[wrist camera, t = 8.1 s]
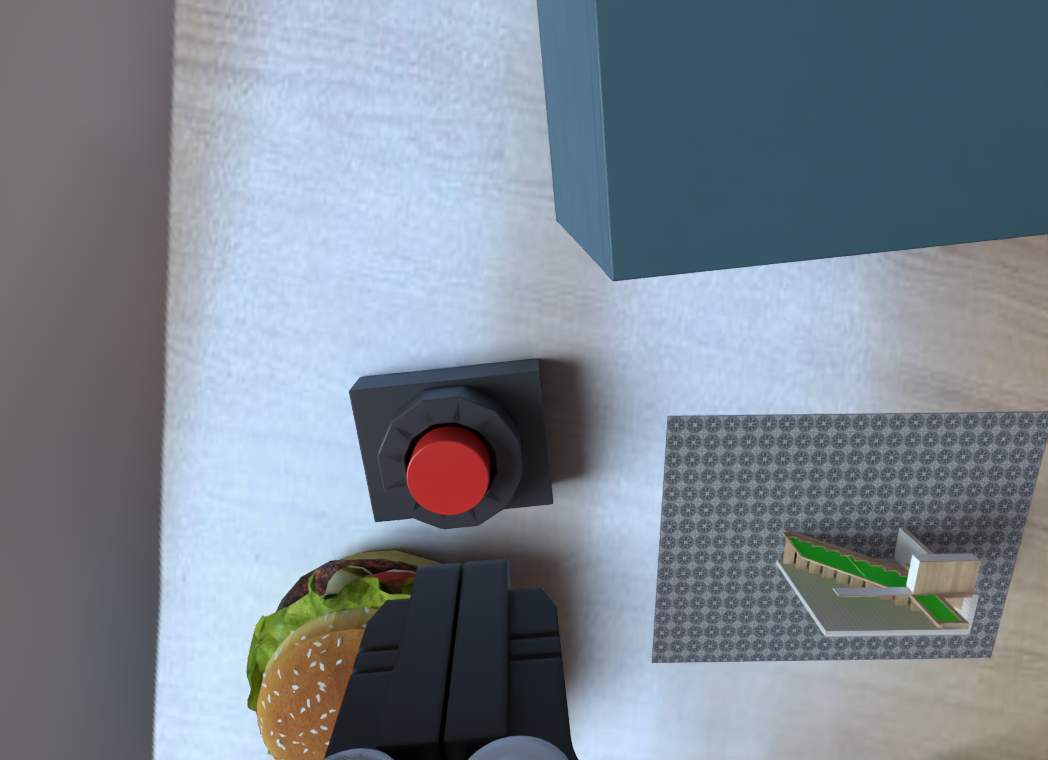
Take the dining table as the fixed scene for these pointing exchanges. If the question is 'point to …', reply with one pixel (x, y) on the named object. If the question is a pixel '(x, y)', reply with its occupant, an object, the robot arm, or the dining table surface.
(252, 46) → the dining table surface
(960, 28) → the cupboard
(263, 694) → the food
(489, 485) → the button box
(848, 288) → the dining table surface
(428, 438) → the red push button
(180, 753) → the dining table surface
